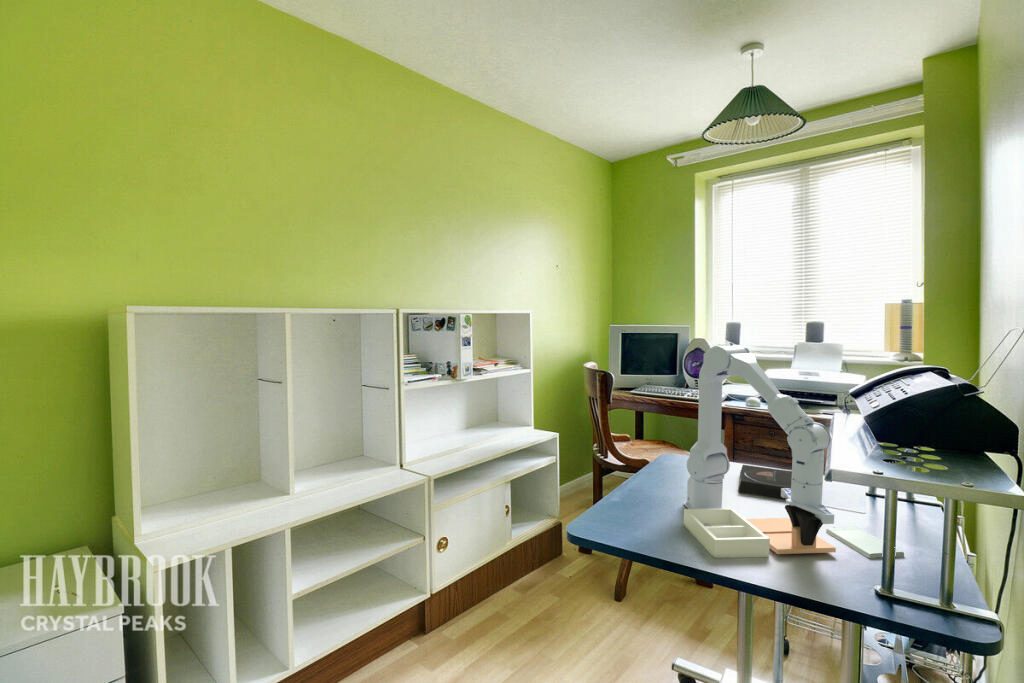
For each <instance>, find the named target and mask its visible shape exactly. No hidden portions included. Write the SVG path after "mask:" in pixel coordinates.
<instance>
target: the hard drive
mask: <svg viewBox="0 0 1024 683" xmlns="http://www.w3.org/2000/svg"><path fill="white" fill-rule="evenodd" d="M825 533H826V534H828V535H830V536H831V535H832V536H831V537H833V538H834V539H836V538H837V539H836V540H838V541H840V542H841V543H842V544H845V545H846V546H848V547H850V548H851V549H853V550H854V551H855V552H858V553H859V554H861V555H863V556H864V557H865V558H867V557H868V559H869V558H871V559H877V558H876V557H881V558H880V559H883V558H882V545H883V541H884V540H882V539H880V538H878V537H876V536H874V535H872V534H870V533H869V532H868V531H867V532H866V531H865V530H863V529H861V528H859V527H857V526H850V527H849V526H846V527H831V528H830V527H829V528H826V529H825ZM904 557H905V553H904V551H902V550H900V549H898V548H896V557H895V558H904Z"/></svg>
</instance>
